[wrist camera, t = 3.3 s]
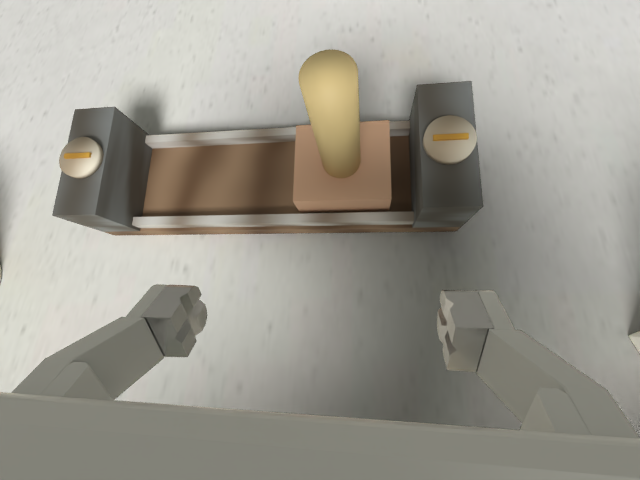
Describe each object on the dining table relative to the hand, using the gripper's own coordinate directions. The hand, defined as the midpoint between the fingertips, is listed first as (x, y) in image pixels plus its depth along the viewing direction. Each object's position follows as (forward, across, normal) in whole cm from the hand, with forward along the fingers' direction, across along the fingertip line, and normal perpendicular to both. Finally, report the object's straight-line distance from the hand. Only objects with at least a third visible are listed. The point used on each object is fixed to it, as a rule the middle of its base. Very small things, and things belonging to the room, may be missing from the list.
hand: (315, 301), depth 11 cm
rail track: (+22, +7, +5) cm, 23 cm away
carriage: (+21, 0, +3) cm, 21 cm away
